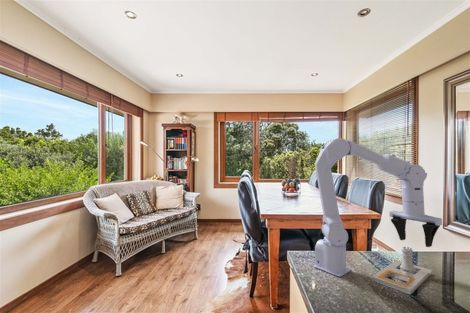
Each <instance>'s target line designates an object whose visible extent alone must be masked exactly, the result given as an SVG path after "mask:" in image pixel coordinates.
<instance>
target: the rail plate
mask: <svg viewBox="0 0 470 313" xmlns="http://www.w3.org/2000/svg"><path fill="white" fill-rule="evenodd" d="M402 262H403V261H402V260H397V259H395V260H394V261H392V262H391V263H389V264H388V265H387V266H385V267H383V268H382V269H381V270H380V271H378V272H376V273H375V274H374V275H372V276H371V282H374V283H377V284H379V285H383V286H386V287H389V288H391V289H394V290H396V291H400V292H401V293H405V294H407V295H412V294H413V293H414V292H415V291H416V290H417V289H418V288H419V287H420V286H421V285H422V284H423V283H424V282H425V281H426V280H427V279H428V277H429V276H431V275H432V269H430V268H426V267H422V266H419V265H416V264H413V265H414V268H415V269H416V271H415V272H416V274H412V273H409V272H406V271H402V270H400V265H401V263H402ZM389 277H392V278H396V279H399V280H400V281H401V280H402V281H404V282H405V283H402V282H399V281H397V280H393V279H390V278H389Z"/></svg>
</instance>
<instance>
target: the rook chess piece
mask: <svg viewBox="0 0 470 313" xmlns="http://www.w3.org/2000/svg"><path fill="white" fill-rule="evenodd" d="M401 251H402V261H401V262H402V263H401V265H400V268H399V270H402V271H406V272H409V273H412V274H416V273H417V272H415V271H416V269H415V268H414V265H415V264H414V263H413V257H414V256H413V253H414V251H413V248H412V247H409V246H407V247H406V246H402V249H401Z"/></svg>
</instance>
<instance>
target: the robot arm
mask: <svg viewBox="0 0 470 313" xmlns="http://www.w3.org/2000/svg"><path fill="white" fill-rule="evenodd" d="M346 156H355V157H357V158H360V159H362V160H365V161H368V162H371V163H373V164H376V166H377V168H378V169H379V170H380V171H383V172H384V173H387V174H389V175H392V176H395V177H397V178H398V179H399V180H400V182H401V199H402V200H401V201H402V204H401V205H402V211H398V210H389V217H390V222H391V223H392V225H393V227H394V228H395V230H396V232H397V234H398V237H399V238H398V239H399V240H400V241H405V240H406V238H407V236H406V233H407V232H406V226H407V220H408V221H410V220H411V221H413V222H419V223H423V224H422V225H421V226H422V229H423V234H424V244H425V247H426V248H430V247H432V246H433V242H434V238H435V236H436V234H437V231H438V230H439V228H440V226H442V225H443V218H441V217H436V216H433V215H428V214H425V199H424V198H425V197H424V195H425V194H424V186H425V185H424V182H425V181H426V179H427V177H428V173H427V172H426V170H425V168H424V167H423V166H421V165H419V164H411V161H409V160H408V159H405V160H404V159H402V158H399V157H397V155H396V154H395V153H390V154H389V153H386V154H382V155H381V154H380V153H378V152H375V151H373V150H371V149H369V148H368V147H364V146H362V145H360V144H358V143H356V142H354V141H352V140H347V139H344V138H342V137H338V138H334V139H333V140H332V139H331V140H328V141H326V142H325V143H324V144H323V145H322V146H321V147H320V149H319V153H318V156H317V158H316V160H315V163H314V168H315V174H316V180H317V185H318V191H319V197H320V203H321V209H322V214H323V215H322V225H321V233H322V234H323V236H324V237H323V239H322V238H321V239H318V240H317V241H316V244H315V246H314V265H313V267H314V268H316V269H319V270H321V271H323V272H326V273H328V274H331V275H334V276H336V277H338V278H341V277H342V276H344V275H346V274H347V273H349V272H351V271H352V268H350V267H349V266H347V242H348V241H349V233H348V231H347V230H346V228H345V227H344V222H343V220H342V218H341V216H340V212H339V206H338V200H337V195H336V189H335V184H334V177H333V173H332V172H333V171H332V168H333V167H334V166H335V164H336V163H337V162H339V161H340V160H342V159H343V158H345V157H346Z"/></svg>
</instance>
